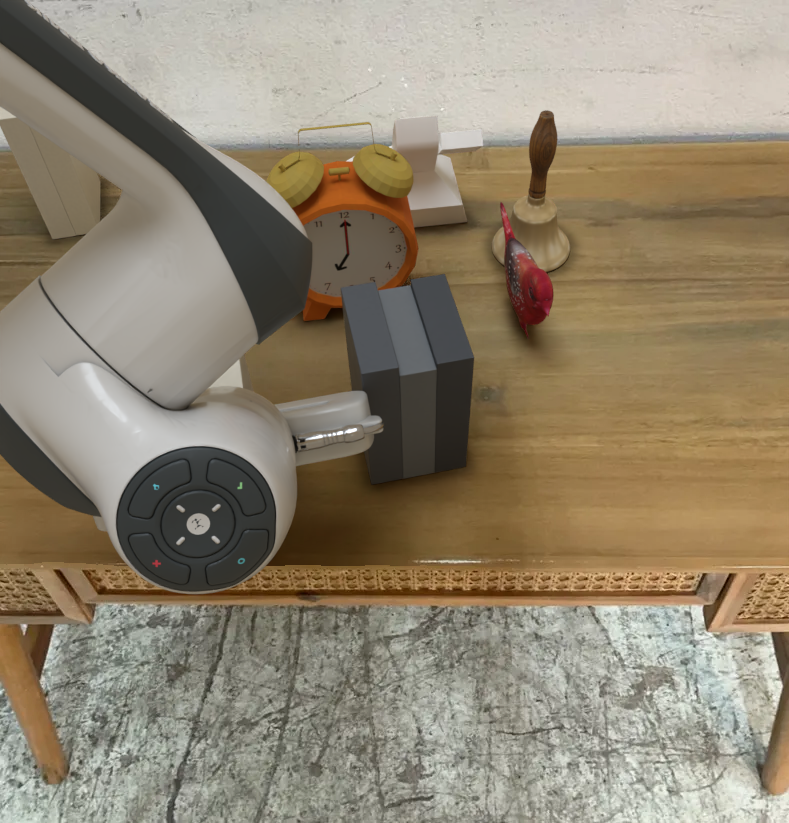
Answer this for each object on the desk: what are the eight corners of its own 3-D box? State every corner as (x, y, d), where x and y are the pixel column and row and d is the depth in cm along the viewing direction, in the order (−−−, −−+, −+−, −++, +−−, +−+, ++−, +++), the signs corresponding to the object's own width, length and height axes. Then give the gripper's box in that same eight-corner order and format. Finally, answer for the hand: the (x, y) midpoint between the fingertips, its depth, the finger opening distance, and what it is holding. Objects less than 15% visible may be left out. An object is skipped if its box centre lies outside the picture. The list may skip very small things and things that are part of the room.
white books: (52, 239, 92) (-4, 119, 80) (55, 189, 97) (3, 69, 85) (100, 232, 92) (52, 112, 80) (100, 182, 98) (55, 62, 86)
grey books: (371, 485, 72) (361, 374, 60) (353, 404, 77) (340, 287, 65) (466, 466, 72) (474, 353, 60) (441, 388, 78) (444, 269, 66)
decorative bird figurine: (523, 375, 78) (534, 300, 70) (483, 249, 89) (489, 171, 81) (553, 371, 79) (568, 296, 71) (509, 246, 89) (518, 168, 81)
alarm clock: (288, 327, 83) (255, 158, 67) (285, 284, 87) (253, 114, 71) (419, 312, 84) (419, 141, 68) (411, 270, 87) (408, 98, 71)
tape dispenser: (346, 192, 95) (336, 82, 84) (467, 180, 96) (472, 69, 85) (352, 241, 90) (343, 131, 79) (480, 228, 91) (488, 117, 80)
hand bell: (475, 250, 89) (484, 118, 76) (523, 211, 92) (539, 79, 80) (538, 286, 85) (558, 154, 73) (585, 245, 89) (612, 112, 76)
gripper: (379, 379, 53) (360, 364, 66) (49, 438, 51) (99, 410, 64) (395, 475, 54) (373, 441, 67) (72, 537, 51) (117, 488, 65)
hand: (237, 426), depth 66 cm, fingers open, 3 cm apart
